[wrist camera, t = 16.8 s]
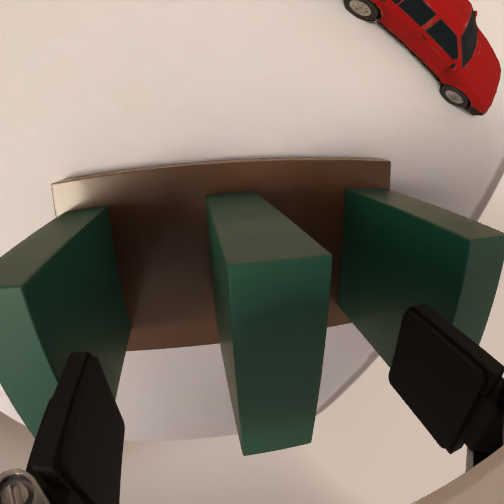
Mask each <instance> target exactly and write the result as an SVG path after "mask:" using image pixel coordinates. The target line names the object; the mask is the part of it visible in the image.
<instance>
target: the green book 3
mask: <svg viewBox="0 0 504 504" xmlns="http://www.w3.org/2000/svg"><path fill="white" fill-rule="evenodd" d="M503 262H504V233H503V232H500V231H498V230H496V229H493V228H491V227H488V226H486V225H483V224H481V223H479V222H476V221H474V220H471V219H469V218H466V217H464V216H461V215H459V214H456V213H453V212H451V211H448V210H445V209H443V208H440V207H437V206H434V205H432V204H429V203H426V202H423V201H420V200H417V199H414V198H411V197H408V196H405V195H402V194H399V193H396V192H393V191H390V190H387V189H384V188H345V202H344V225H343V243H342V259H341V272H340V284H339V295H338V307H339V308H340V309H341V310H342V311H343V312H344V314H345V315H346V316H347V317H348V318H349V319H350V321H351V322H352V323H353V324H354V325H355V326H356V328H357V329H358V330H359V331H360V332H361V334H362V335H363V336H364V337H365V338H366V339H367V341H368V342H369V343H370V344H371V345H372V347H373V348H374V349H375V350H376V351H377V353H378V354H379V355H380V356H381V357H382V358H383V360H384V361H385V362H386V363H387V365H388V366H389V367H390V368H391V364H392V360H393V356H394V352H395V348H396V344H397V340H398V336H399V331H400V327H401V322H402V317H403V314H404V313H405V312H406V310H407V308H408V307H410V306H414V305H418V304H426V305H428V306H429V307H430V308H432V309H433V310H434V311H435V312H437V313H438V314H439V315H441V316H442V317H443V318H445V319H446V320H447V321H448V322H450V323H451V324H452V325H454V326H455V327H456V328H457V329H459V330H460V331H461V332H462V333H464V334H465V335H466V336H467V337H469V338H470V339H471V340H472V341H474V342H475V343H476V344H477V345H479V343H480V341H481V338H482V335H483V332H484V329H485V326H486V323H487V320H488V317H489V314H490V311H491V307H492V304H493V301H494V297H495V294H496V290H497V286H498V283H499V279H500V274H501V271H502V266H503Z"/></svg>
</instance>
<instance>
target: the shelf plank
mask: <svg viewBox="0 0 504 504" xmlns="http://www.w3.org/2000/svg"><path fill="white" fill-rule="evenodd" d="M390 165H391V162H390V161H386V160H380V159H363V158H273V159H247V160H228V161H213V162H199V163H187V164H176V165H166V166H156V167H147V168H139V169H131V170H123V171H116V172H108V173H102V174H95V175H88V176H82V177H76V178H70V179H65V180H61V181H58V182H55V183H52V184H51V186H52V194H53V201H54V207H55V214H56V218H57V217H58V216H60V215H61V214H63V213H64V212H67V211H74V210H81V209H88V208H96V207H103V206H107V207H108V213H109V220H110V227H111V234H112V240H113V246H114V252H115V257H116V263H117V268H118V273H119V278H120V283H121V288H122V292H123V297H124V302H125V306H126V310H127V314H128V319H129V323H130V327H131V333H130V337H129V341H128V345H127V349H126V351H137V350H152V349H165V348H177V347H188V346H199V345H208V344H217V343H220V340H219V334H218V328H217V323H216V314H215V304H214V294H213V283H212V272H211V260H210V248H209V235H208V222H207V208H206V195H211V194H224V193H238V192H253V191H255V192H256V193H257V194H259V195H260V196H261V197H262V198H264V199H265V200H266V201H267V202H269V203H270V204H271V205H272V206H274V207H275V208H276V209H277V210H279V211H280V212H281V213H282V214H284V215H285V216H286V217H287V218H288V219H290V220H291V221H292V222H293V223H295V224H296V225H297V226H298V227H299V228H301V229H302V230H303V231H304V232H305V233H307V234H308V235H309V236H310V237H311V238H313V239H314V240H315V241H316V242H317V243H319V244H320V245H321V246H322V247H323V248H325V249H326V250H327V251H328V252H329V253H330V254H332V270H331V284H330V297H329V309H328V320H327V327H331V326H337V325H342V324H347V323H352V322H351V321H350V319H349V318H348V317H347V316H346V315H345V314H344V312H343V311H342V310H341V309H340V308H339V307H338V295H339V284H340V272H341V259H342V243H343V225H344V202H345V188H384V189H387V190H390Z"/></svg>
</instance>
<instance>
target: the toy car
mask: <svg viewBox="0 0 504 504" xmlns="http://www.w3.org/2000/svg"><path fill="white" fill-rule="evenodd" d="M343 2H344V5H345V7H346V9H347V10H348V11H349V12H350V13H352V14H353V15H355V16H356V17H358V18H361V19H365V20H373V19H375V18H376V17H377V15H378V13H379V11H380V12H381V16H382V17H381V18H380V19H379V20H377V21H379V22H380V23H381V24H382V25H384V26H385V27H386V28H387V29H388V30H389V31H391V32H392V33H393V34H394V35H395V36H396V37H397V38H399V39H400V40H401V41H402V42H403V43H404V44H405V45H406V46H407V47H408V48H409V49H411V50H412V51H413V52H414V53H415V54H416V55H417V56H418V57H419V58H420V59H421V60H422V61H423V62H424V63H425V64H426V65H427V66H428V67H429V68H430V69H431V70H432V71H433V72H434V74H435V75H436V76H437V77H438V78H439V79H440V80H441V83H444V84H443V85H442V87H441V90H440V92H441V95H442V96H443V97H444V99H445V100H447V101H448V102H449V103H451V104H453V105H455V106H458V107H465V108H464V109H466V110H467V111H468V112H469V113H471V114H472V115H484V114H485V113H486V112H487V111H488V109H489V108H490V106H491V105H492V102H493V99H494V96H495V94H496V92H497V91H496V90H497V87H498V84H499V80H500V74H501V68H500V64H499V61H498V59H497V57H496V55H495V53H494V51H493V49H492V47H491V46H490V44H489V42H488V41H487V39H486V38H485V36H484V35H483V34H482V32H481V31H480V29H479V28H478V27H477V25H476V20H475V19H476V16H477V11H473V8H472V5H471V3H470V2H469V1H468V0H344V1H343ZM357 2H358V3H359V4H358V3H357ZM354 3H355V4H354ZM366 8H367V9H366ZM366 11H368V12H366ZM449 90H450V91H449ZM450 92H451V93H450ZM453 93H455V94H453ZM457 95H458V96H457ZM459 98H460V99H459Z"/></svg>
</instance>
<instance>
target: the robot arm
mask: <svg viewBox="0 0 504 504" xmlns="http://www.w3.org/2000/svg"><path fill="white" fill-rule="evenodd" d="M503 373H504V366H503V365H502V364H500V363H499V362H498V361H497V360H496V359H494V358H493V357H492V356H491V355H490V354H488V353H487V352H486V351H485V350H484V349H482V348H481V347H480V346H479V345H477V344H476V343H475V342H474V341H472V340H471V339H470V338H469V337H467V336H466V335H465V334H464V333H462V332H461V331H460V330H459V329H457V328H456V327H455V326H454V325H452V324H451V323H450V322H448V321H447V320H446V319H445V318H443V317H442V316H441V315H439V314H438V313H437V312H435V311H434V310H433V309H432V308H430V307H429V306H428V305H426V304H418V305H414V306H410V307H408V308H407V310H406V312H405V313H404V314H403V317H402V322H401V327H400V331H399V336H398V340H397V344H396V348H395V352H394V356H393V360H392V364H391V368H390V371H389V382H390V384H391V385H392V386H393V388H394V389H395V390H396V391H397V393H398V394H399V395H400V396H401V398H402V399H403V400H404V401H405V403H406V404H407V405H408V406H409V408H410V409H411V410H412V411H413V413H414V414H415V415H416V416H417V418H418V419H419V420H420V421H421V423H422V424H423V425H424V426H425V428H426V429H427V430H428V431H429V433H430V434H431V435H432V436H433V438H434V439H435V440H436V441H437V443H438V444H439V445H440V446H441V447H442V448H445V449H446V450H447V451H448V452H449V453H450V454H452V453H453V452H455V451H457V450H458V449H460V448H462V446H463V445H464V443H465V444H466V446H467V460H466V472H465V473H464V474H463V475H461V476H459V477H458V478H456V479H455V480H453V481H451V482H450V483H448V484H446V485H445V486H443V487H441V488H440V489H438V490H436V491H434V492H432V493H431V494H429V495H427V496H425V497H423V498H421V499H420V500H418V501H416V502H414V503H412V504H504V379H503V378H502V375H503ZM124 433H125V426H124V421H123V418H122V416H121V414H120V411H119V409H118V407H117V404H116V402H115V400H114V397H113V395H112V392H111V390H110V387H109V385H108V382H107V380H106V377H105V374H104V372H103V369H102V366H101V363H100V361H99V358H98V357H93V355H92V354H91V352H72V353H71V354H70V355H69V357H68V360H67V362H66V365H65V367H64V369H63V372H62V374H61V377H60V379H59V382H58V384H57V387H56V390H55V392H54V395H53V397H52V398H50V400H49V402H48V404H47V407H46V410H45V412H44V415H43V418H42V421H41V424H40V427H39V429H38V432H37V435H36V438H35V442H34V445H33V448H32V451H31V455H30V458H29V461H28V464H27V468H26V471H24V470H21V469H10V470H7V471H4V472H3V473H1V474H0V504H119V496H120V478H121V465H122V453H123V442H124Z"/></svg>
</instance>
